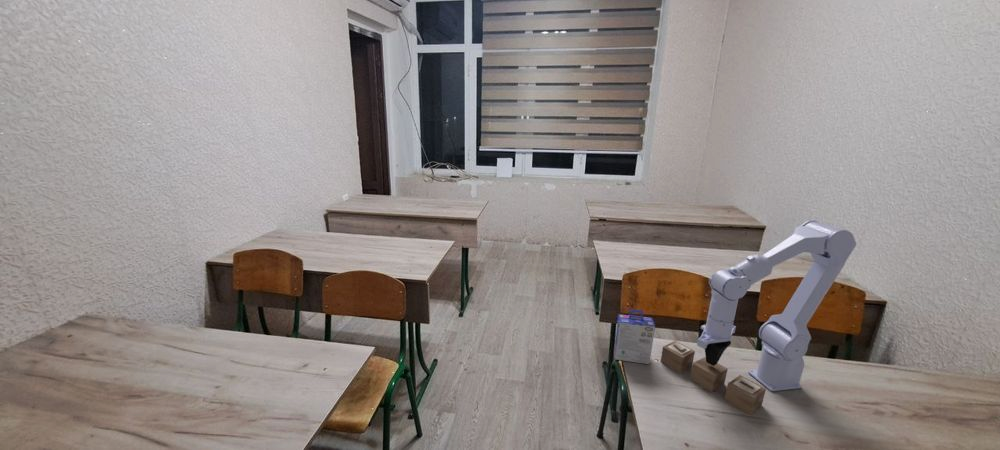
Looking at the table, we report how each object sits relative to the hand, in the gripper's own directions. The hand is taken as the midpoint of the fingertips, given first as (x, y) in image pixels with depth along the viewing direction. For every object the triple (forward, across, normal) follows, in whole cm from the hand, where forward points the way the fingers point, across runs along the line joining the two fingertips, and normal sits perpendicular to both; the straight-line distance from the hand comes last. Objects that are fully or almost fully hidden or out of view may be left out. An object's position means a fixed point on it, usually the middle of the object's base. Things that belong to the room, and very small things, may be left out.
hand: (711, 363), depth 100 cm
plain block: (+6, 0, 0) cm, 6 cm away
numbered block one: (+6, 0, +9) cm, 11 cm away
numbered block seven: (+6, 0, -9) cm, 11 cm away
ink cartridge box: (+6, +9, -18) cm, 21 cm away
